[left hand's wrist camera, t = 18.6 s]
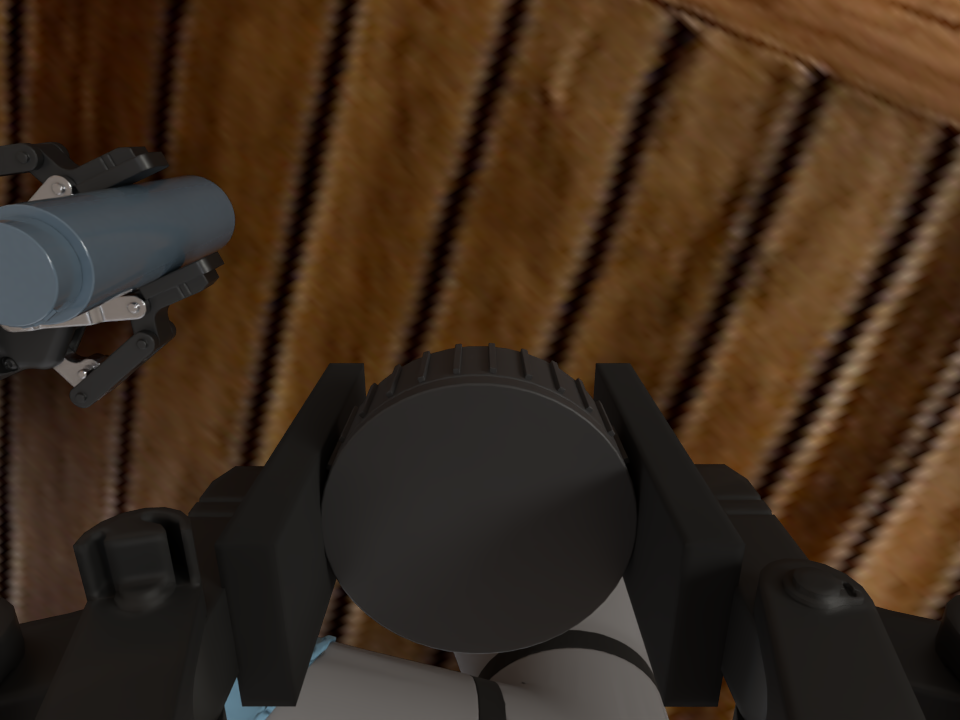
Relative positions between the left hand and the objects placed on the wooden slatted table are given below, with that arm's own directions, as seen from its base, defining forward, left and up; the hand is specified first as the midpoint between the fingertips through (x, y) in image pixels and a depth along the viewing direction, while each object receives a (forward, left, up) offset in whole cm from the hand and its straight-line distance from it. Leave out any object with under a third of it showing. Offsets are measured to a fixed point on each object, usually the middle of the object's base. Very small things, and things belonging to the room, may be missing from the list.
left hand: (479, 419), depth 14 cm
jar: (-3, +17, -25) cm, 30 cm away
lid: (0, 0, +4) cm, 4 cm away
